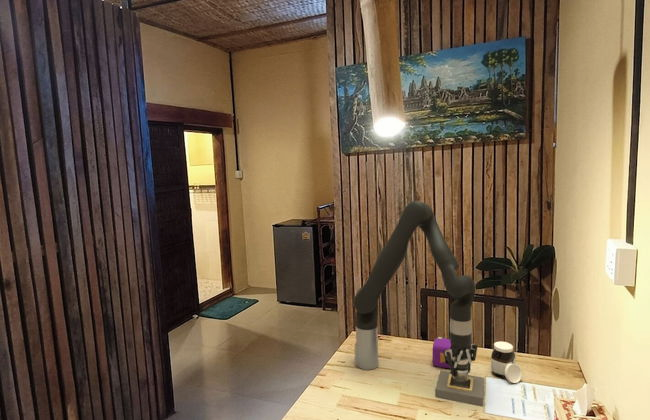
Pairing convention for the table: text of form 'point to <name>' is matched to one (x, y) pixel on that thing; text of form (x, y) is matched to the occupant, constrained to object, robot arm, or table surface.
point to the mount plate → (460, 389)
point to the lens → (462, 370)
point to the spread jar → (505, 362)
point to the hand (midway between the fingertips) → (460, 373)
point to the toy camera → (440, 351)
